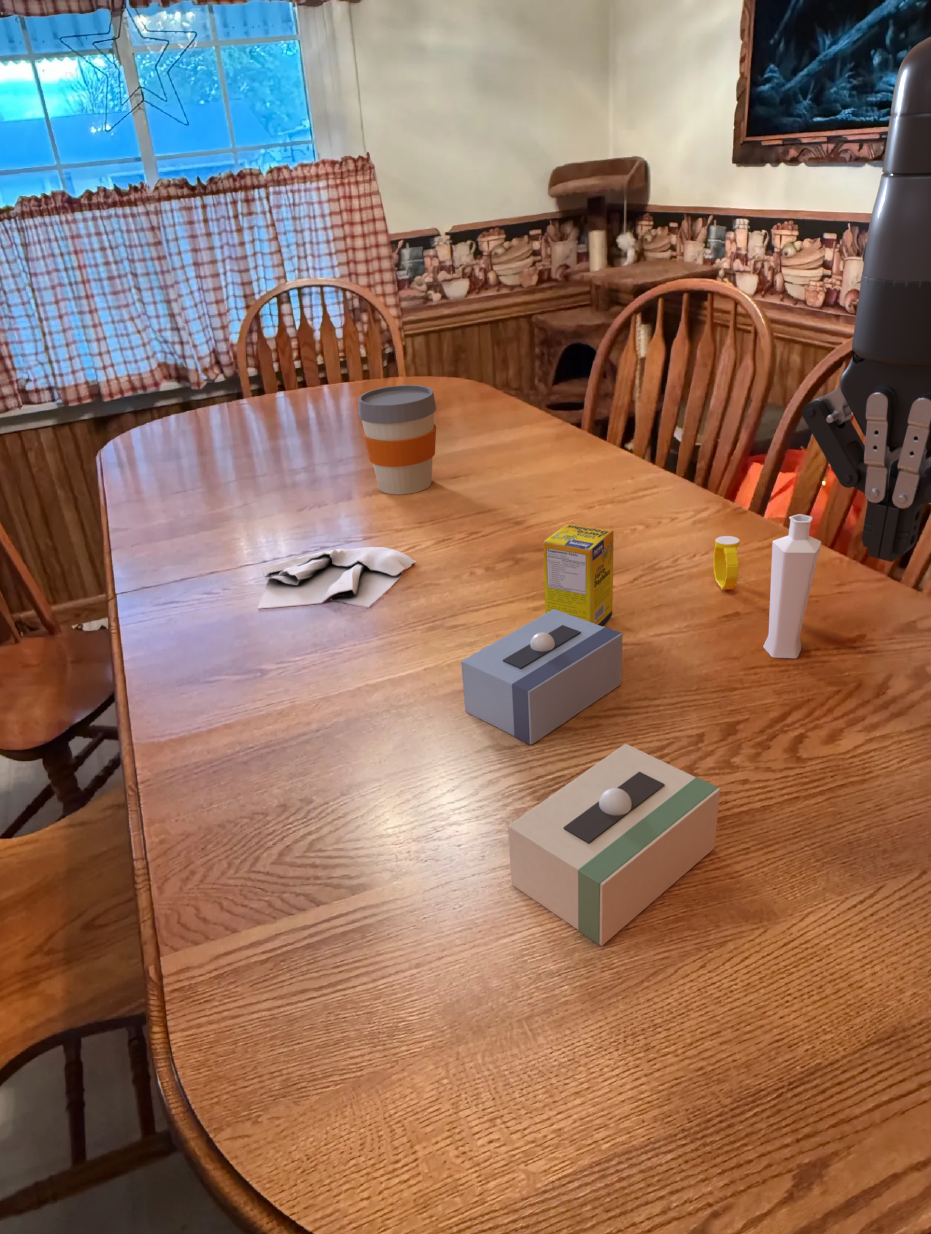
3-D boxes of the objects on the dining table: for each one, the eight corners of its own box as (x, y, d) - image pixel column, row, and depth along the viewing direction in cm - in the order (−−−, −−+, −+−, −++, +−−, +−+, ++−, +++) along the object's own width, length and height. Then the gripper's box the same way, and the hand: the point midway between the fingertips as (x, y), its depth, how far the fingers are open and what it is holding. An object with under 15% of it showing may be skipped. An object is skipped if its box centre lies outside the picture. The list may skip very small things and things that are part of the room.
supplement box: (613, 615, 106) (615, 529, 100) (591, 638, 102) (592, 549, 96) (567, 606, 109) (566, 521, 103) (544, 627, 105) (542, 540, 99)
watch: (742, 595, 107) (747, 549, 104) (718, 597, 107) (722, 551, 104) (728, 574, 112) (732, 529, 109) (706, 575, 112) (709, 531, 109)
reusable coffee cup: (416, 502, 143) (407, 408, 136) (353, 493, 149) (341, 402, 142) (455, 476, 152) (449, 386, 144) (394, 469, 158) (384, 382, 150)
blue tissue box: (621, 684, 93) (555, 657, 99) (623, 620, 89) (553, 595, 95) (531, 745, 85) (464, 712, 91) (528, 678, 81) (459, 647, 87)
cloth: (435, 559, 124) (434, 543, 122) (338, 629, 109) (335, 612, 107) (321, 538, 134) (319, 522, 133) (218, 599, 119) (214, 582, 118)
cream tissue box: (715, 848, 71) (624, 799, 78) (722, 773, 68) (626, 728, 74) (601, 947, 64) (510, 885, 70) (602, 869, 60) (506, 810, 66)
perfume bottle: (751, 651, 96) (766, 520, 88) (773, 636, 98) (790, 506, 91) (791, 666, 93) (810, 531, 85) (812, 649, 95) (834, 517, 88)
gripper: (1105, 253, 46) (1022, 560, 55) (852, 250, 55) (816, 515, 64) (1051, 279, 42) (971, 605, 51) (789, 271, 51) (760, 550, 60)
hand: (885, 554), depth 58 cm, fingers closed
